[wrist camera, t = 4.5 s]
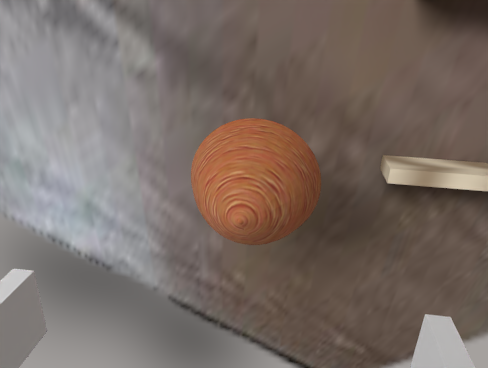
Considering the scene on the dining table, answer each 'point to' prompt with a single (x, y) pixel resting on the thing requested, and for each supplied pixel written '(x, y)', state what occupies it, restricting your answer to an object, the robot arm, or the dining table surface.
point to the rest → (435, 173)
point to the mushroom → (255, 181)
